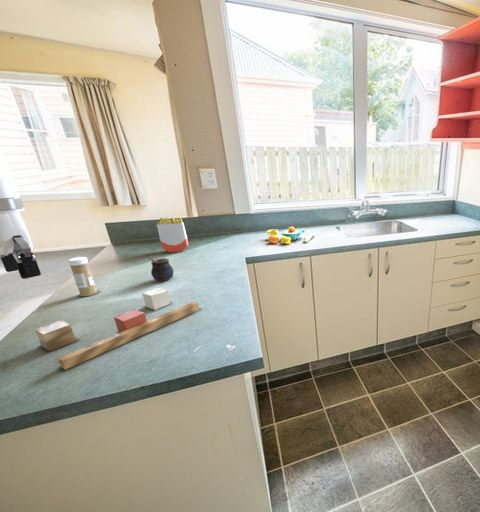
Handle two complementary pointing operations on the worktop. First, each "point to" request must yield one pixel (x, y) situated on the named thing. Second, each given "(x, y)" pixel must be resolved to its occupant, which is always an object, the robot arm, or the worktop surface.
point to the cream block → (156, 298)
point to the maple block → (55, 335)
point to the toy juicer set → (287, 235)
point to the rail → (125, 336)
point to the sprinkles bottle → (82, 276)
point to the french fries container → (172, 235)
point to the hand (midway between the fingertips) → (23, 273)
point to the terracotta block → (129, 320)
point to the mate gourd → (161, 269)
